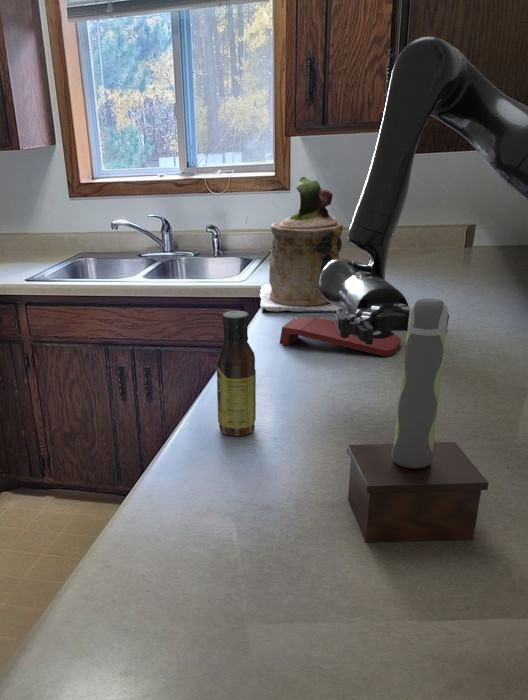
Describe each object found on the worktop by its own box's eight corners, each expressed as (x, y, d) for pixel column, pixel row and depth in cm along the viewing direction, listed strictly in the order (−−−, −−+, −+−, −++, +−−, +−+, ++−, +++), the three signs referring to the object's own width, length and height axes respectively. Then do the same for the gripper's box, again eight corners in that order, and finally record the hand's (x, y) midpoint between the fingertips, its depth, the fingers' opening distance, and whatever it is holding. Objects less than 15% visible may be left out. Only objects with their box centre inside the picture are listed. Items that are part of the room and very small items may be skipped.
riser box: (447, 495, 100) (455, 441, 96) (479, 541, 89) (488, 482, 86) (343, 498, 100) (347, 444, 97) (362, 544, 90) (367, 485, 86)
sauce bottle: (226, 421, 127) (225, 306, 118) (260, 426, 125) (262, 309, 116) (211, 435, 122) (209, 316, 113) (247, 440, 119) (247, 319, 111)
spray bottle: (434, 456, 92) (455, 296, 83) (430, 472, 88) (451, 306, 79) (394, 451, 94) (410, 294, 85) (388, 467, 90) (404, 303, 81)
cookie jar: (259, 313, 194) (260, 183, 180) (259, 293, 216) (261, 175, 202) (355, 312, 191) (364, 179, 177) (345, 291, 213) (353, 171, 199)
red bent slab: (398, 357, 167) (293, 332, 175) (403, 336, 164) (296, 312, 173) (386, 373, 157) (276, 346, 166) (392, 351, 154) (280, 324, 163)
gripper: (327, 282, 107) (350, 308, 93) (426, 278, 107) (464, 304, 92) (324, 333, 111) (346, 366, 96) (420, 329, 110) (456, 362, 96)
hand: (404, 335), depth 94 cm, fingers open, 8 cm apart
